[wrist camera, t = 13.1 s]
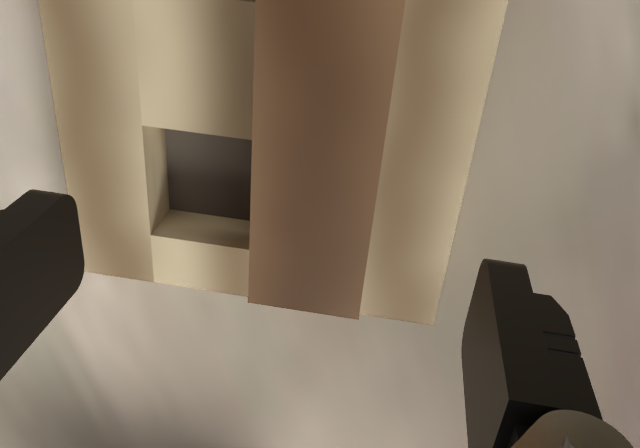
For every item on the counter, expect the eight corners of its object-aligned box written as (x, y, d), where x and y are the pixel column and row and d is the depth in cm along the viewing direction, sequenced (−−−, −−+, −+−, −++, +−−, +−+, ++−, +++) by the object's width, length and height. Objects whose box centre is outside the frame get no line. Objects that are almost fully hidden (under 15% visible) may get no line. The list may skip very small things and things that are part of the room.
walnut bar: (424, -139, 19) (426, -142, 14) (370, 232, 26) (358, 319, 21) (301, -151, 20) (259, -157, 14) (281, 219, 27) (248, 302, 22)
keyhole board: (551, -248, 18) (569, -263, 16) (432, 290, 28) (433, 325, 26) (38, -287, 19) (-10, -306, 17) (104, 241, 29) (79, 270, 27)
